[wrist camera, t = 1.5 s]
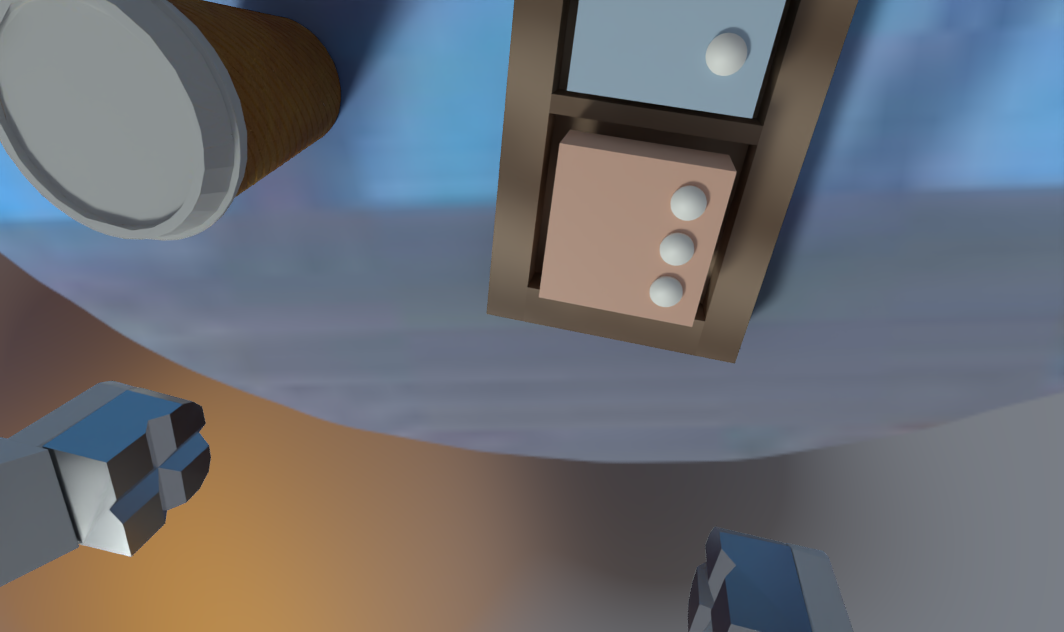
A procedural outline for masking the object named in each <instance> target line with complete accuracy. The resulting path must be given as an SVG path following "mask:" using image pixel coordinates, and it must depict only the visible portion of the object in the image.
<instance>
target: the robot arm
mask: <svg viewBox="0 0 1064 632" xmlns="http://www.w3.org/2000/svg"><path fill="white" fill-rule="evenodd" d="M204 425H205V418H204V413H203V409H202V406H200V405H198V404H196V403H195V402H192V401H188V400H185V399H181V398H177V397H174V396H170V395H166V394H162V393H159V392H155V391H151V390H148V389H144V388H137V387H133V386H130V385H126V384H122V383H119V382H115V381H108V382H101V383H98V384H96V385H95V386H93V387H92V388H90V389H88V390H87V391H85V392H84V393H82V394H80V395H79V396H77V397H75V398H74V399H72V400H70V401H69V402H67V403H65V404H64V405H62V406H61V407H59V408H57V409H56V410H54V411H52V412H51V413H49V414H47V415H46V416H44V417H43V418H41V419H39V420H38V421H36V422H34V423H33V424H31V425H30V426H28V427H26V428H25V429H23V430H21V431H20V432H18V433H16V434H15V435H13V436H12V437H10V438H8V439H6V438H1V437H0V587H1V586H3V585H5V584H7V583H8V582H10V581H12V580H15V579H16V578H18V577H21V576H22V575H24V574H26V573H28V572H30V571H32V570H34V569H36V568H38V567H40V566H42V565H44V564H46V563H48V562H50V561H52V560H54V559H56V558H58V557H60V556H62V555H64V554H66V553H68V552H70V551H72V550H74V549H76V548H78V547H79V545H78V544H81V545H86V546H89V547H94V548H98V549H102V550H106V551H110V552H114V553H118V554H122V555H126V556H132V555H133V554H134V553H136V551H138V549H140V548H141V547H142V546H143V544H145V543H146V542H147V541H148V540H149V539H150V538H151V537H152V536H153V535H154V534H155V533H156V532H157V531H158V530H159V529H160V528H161V527H162V526H163V525H164V524H165V521H166V513H167V510H169V509H172V508H174V507H177V506H179V505H181V504H183V503H186V502H187V501H188V500H189V499H190V498H191V497H192V496H193V495H194V494H195V493H196V492H197V491H198V490H199V489H200V487H201V485H202V483H203V481H204V479H205V478H206V476H207V473H208V472H209V466H210V459H211V455H210V448H209V445H208V443H207V442H206V441H205V440H204V438H203V437H202V436H201V434H200V433H199V431H200V430H201V429H202V428H203V426H204ZM705 550H706V562H705V563H703V564H702V565H700V566H698V567H697V569H696V572H695V575H694V578H693V581H692V585H691V591H690V597H689V602H688V632H854V631H853V628H852V625H851V623H850V620H849V617H848V613H847V611H846V607H845V604H844V602H843V598H842V596H841V593H840V590H839V587H838V584H837V581H836V578H835V575H834V572H833V569H832V566H831V563H830V560H829V557H828V556H827V555H826V554H825V553H824V551H821V550H816V549H811V548H807V547H803V546H798V545H794V544H789V543H786V544H785V543H783V542H779V541H775V540H770V539H765V538H762V537H757V536H753V535H749V534H744V533H740V532H735V531H731V530H727V529H723V528H718V527H714V528H713V530H712V531H711V532H710V534H709V537H708V539H707V542H706V545H705Z"/></svg>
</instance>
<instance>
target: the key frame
mask: <svg viewBox="0 0 1064 632" xmlns="http://www.w3.org/2000/svg"><path fill="white" fill-rule="evenodd" d="M857 3H858V0H786V2H785V5H784V9H783V12H782V16H781V19H780V23H779V26H778V30H777V33H776V37H775V40H774V44H773V47H772V51H771V54H770V58H769V61H768V65H767V68H766V72H765V75H764V79H763V82H762V86H761V89H760V92H759V96H758V99H757V103H756V106H755V110H754V113H753V117H752V119H751V118H745V117H738V116H731V115H725V114H718V113H712V112H705V111H698V110H692V109H685V108H679V107H672V106H665V105H659V104H652V103H646V102H639V101H632V100H626V99H619V98H613V97H606V96H599V95H593V94H586V93H579V92H573V91H567V86H568V78H569V71H570V64H571V56H572V49H573V41H574V34H575V27H576V19H577V12H578V5H579V0H514V10H513V22H512V33H511V44H510V56H509V67H508V78H507V89H506V101H505V112H504V123H503V135H502V146H501V157H500V168H499V180H498V191H497V202H496V214H495V225H494V236H493V247H492V259H491V270H490V281H489V293H488V304H487V314H490V315H495V316H500V317H505V318H510V319H515V320H520V321H525V322H530V323H535V324H540V325H545V326H550V327H555V328H560V329H565V330H570V331H575V332H580V333H585V334H590V335H595V336H600V337H605V338H610V339H615V340H620V341H625V342H630V343H635V344H640V345H645V346H650V347H655V348H660V349H665V350H670V351H675V352H680V353H685V354H690V355H695V356H700V357H705V358H710V359H715V360H720V361H725V362H730V363H735V361H736V358H737V355H738V352H739V349H740V346H741V344H742V341H743V338H744V335H745V332H746V329H747V326H748V323H749V320H750V317H751V314H752V311H753V308H754V305H755V302H756V299H757V297H758V294H759V291H760V288H761V285H762V282H763V279H764V276H765V273H766V270H767V267H768V264H769V261H770V258H771V255H772V252H773V250H774V247H775V244H776V241H777V238H778V235H779V232H780V229H781V226H782V223H783V220H784V217H785V214H786V211H787V208H788V205H789V203H790V200H791V197H792V194H793V191H794V188H795V185H796V182H797V179H798V176H799V173H800V170H801V167H802V164H803V161H804V158H805V155H806V153H807V150H808V147H809V144H810V141H811V138H812V135H813V132H814V129H815V126H816V123H817V120H818V117H819V114H820V111H821V108H822V106H823V103H824V100H825V97H826V94H827V91H828V88H829V85H830V82H831V79H832V76H833V73H834V70H835V67H836V64H837V61H838V59H839V56H840V53H841V50H842V47H843V44H844V41H845V38H846V35H847V32H848V29H849V26H850V23H851V20H852V17H853V14H854V11H855V9H856V6H857ZM569 130H575V131H582V132H588V133H594V134H600V135H607V136H613V137H619V138H626V139H632V140H638V141H644V142H651V143H657V144H663V145H670V146H676V147H682V148H688V149H695V150H701V151H707V152H714V153H720V154H726V155H729V156H730V158H731V160H732V163H733V165H734V167H735V169H736V171H737V173H736V176H735V179H734V183H733V186H732V190H731V193H730V197H729V200H728V204H727V207H726V211H725V214H724V218H723V221H722V225H721V228H720V232H719V235H718V239H717V242H716V246H715V249H714V253H713V256H712V260H711V263H710V266H709V270H708V273H707V277H706V280H705V284H704V287H703V291H702V294H701V298H700V301H699V305H698V308H697V312H696V315H695V319H694V322H693V326H692V327H689V326H684V325H679V324H674V323H669V322H664V321H658V320H653V319H648V318H643V317H638V316H633V315H628V314H622V313H617V312H612V311H607V310H602V309H597V308H592V307H586V306H581V305H576V304H571V303H566V302H561V301H556V300H550V299H545V298H540V297H539V292H540V284H541V277H542V269H543V262H544V255H545V247H546V240H547V233H548V225H549V218H550V211H551V203H552V196H553V189H554V181H555V174H556V167H557V159H558V152H559V144H560V142H561V141H562V139H563V138H564V137H565V136H566V134H567V133H568V132H569Z"/></svg>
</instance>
